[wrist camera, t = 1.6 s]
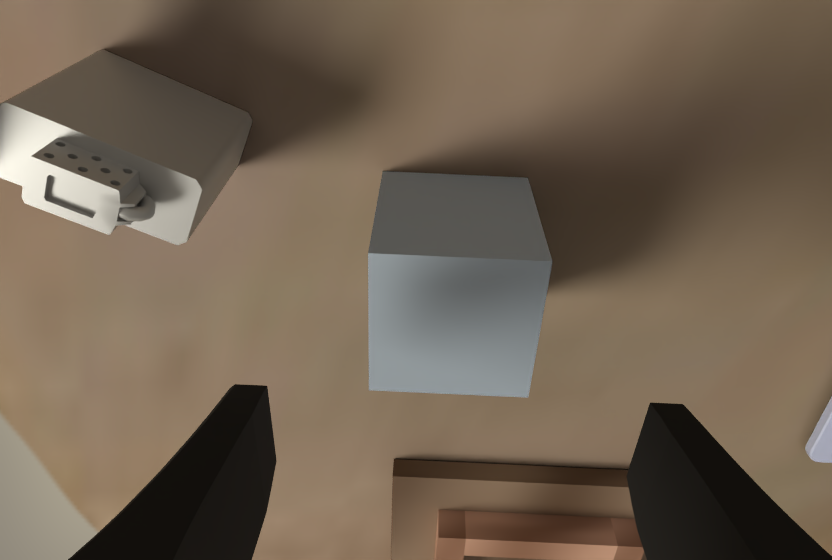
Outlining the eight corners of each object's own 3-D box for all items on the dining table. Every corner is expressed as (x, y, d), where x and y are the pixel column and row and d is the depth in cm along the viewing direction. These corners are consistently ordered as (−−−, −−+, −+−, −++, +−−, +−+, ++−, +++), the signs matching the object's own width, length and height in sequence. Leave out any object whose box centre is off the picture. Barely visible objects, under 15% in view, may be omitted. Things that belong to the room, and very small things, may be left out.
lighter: (254, 115, 17) (131, 281, 10) (236, 170, 18) (112, 356, 11) (-29, -9, 15) (-394, 89, 9) (-33, 59, 16) (-367, 194, 9)
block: (527, 176, 18) (552, 261, 14) (510, 296, 20) (528, 397, 16) (383, 170, 18) (368, 252, 14) (382, 290, 20) (369, 390, 16)
